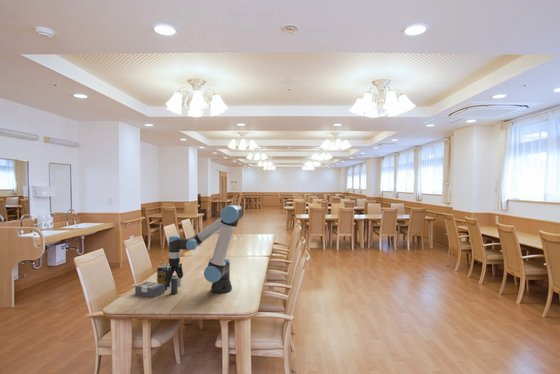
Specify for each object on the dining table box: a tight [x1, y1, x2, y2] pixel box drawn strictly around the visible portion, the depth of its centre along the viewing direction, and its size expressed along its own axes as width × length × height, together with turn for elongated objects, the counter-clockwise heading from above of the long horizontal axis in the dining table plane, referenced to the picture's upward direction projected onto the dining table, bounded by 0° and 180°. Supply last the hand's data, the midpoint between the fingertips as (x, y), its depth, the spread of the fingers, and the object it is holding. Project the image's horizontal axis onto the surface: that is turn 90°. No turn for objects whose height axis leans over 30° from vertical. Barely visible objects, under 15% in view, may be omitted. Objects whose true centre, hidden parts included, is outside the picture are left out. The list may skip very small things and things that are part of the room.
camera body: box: [134, 280, 166, 299], centre depth 230 cm, size 16×12×7 cm
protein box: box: [156, 262, 174, 289], centre depth 249 cm, size 10×15×16 cm
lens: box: [170, 274, 179, 295], centre depth 231 cm, size 5×5×12 cm
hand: (174, 289), depth 231 cm, fingers open, 10 cm apart
